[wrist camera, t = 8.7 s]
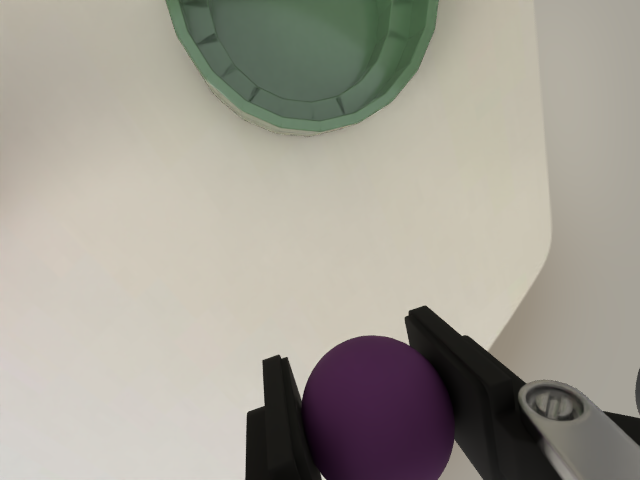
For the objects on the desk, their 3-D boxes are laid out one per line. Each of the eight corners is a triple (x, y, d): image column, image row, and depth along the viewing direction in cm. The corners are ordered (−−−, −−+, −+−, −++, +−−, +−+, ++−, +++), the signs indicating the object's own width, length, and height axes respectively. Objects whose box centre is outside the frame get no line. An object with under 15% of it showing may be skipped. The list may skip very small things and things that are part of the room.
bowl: (380, -129, 21) (418, -213, 16) (416, 111, 25) (455, 99, 20) (145, -95, 19) (110, -177, 15) (222, 157, 23) (214, 157, 18)
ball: (399, 295, 11) (479, 370, 7) (420, 397, 12) (500, 510, 8) (277, 335, 10) (292, 439, 7) (311, 438, 11) (340, 578, 8)
